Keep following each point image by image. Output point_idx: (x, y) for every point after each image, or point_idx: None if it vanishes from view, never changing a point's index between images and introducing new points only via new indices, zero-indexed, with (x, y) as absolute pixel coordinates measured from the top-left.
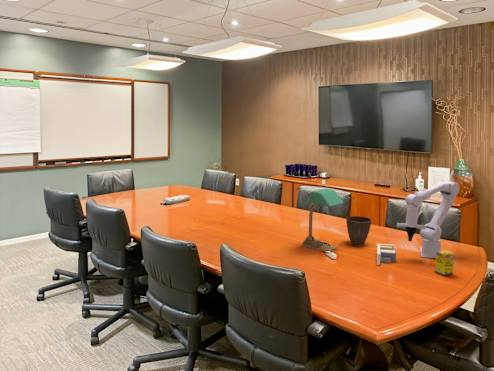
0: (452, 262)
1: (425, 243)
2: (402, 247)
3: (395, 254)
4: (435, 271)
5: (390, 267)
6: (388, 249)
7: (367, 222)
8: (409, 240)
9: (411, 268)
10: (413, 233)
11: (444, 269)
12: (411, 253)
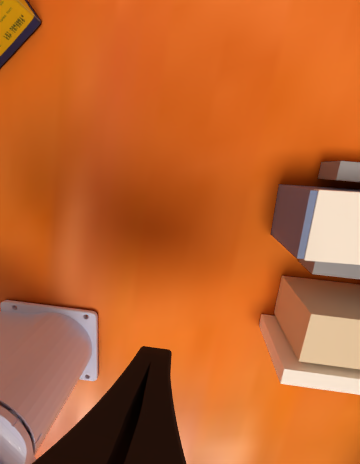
0: None
1: (24, 393)
2: None
3: (308, 189)
4: (33, 11)
5: (348, 57)
6: (336, 310)
7: None
8: (162, 353)
9: (191, 73)
10: (65, 453)
11: None
12: None
